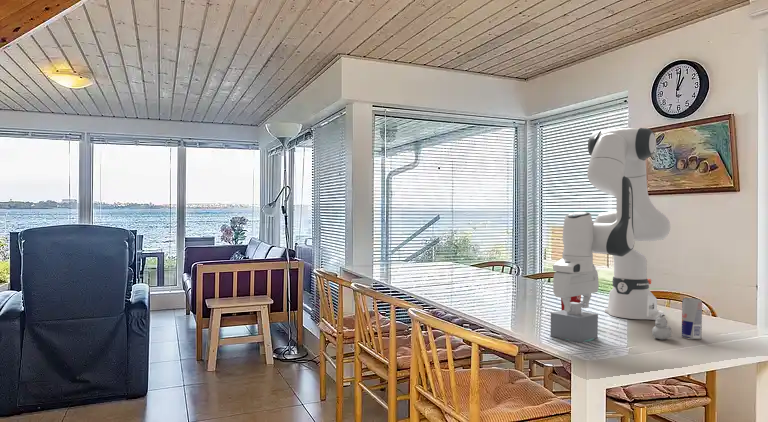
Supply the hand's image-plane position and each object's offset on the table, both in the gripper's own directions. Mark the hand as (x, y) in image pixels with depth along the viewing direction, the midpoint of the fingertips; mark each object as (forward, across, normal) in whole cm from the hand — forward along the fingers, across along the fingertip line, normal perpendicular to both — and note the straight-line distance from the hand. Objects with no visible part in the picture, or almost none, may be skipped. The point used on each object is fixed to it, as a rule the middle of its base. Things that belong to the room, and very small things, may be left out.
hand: (576, 309), depth 163 cm
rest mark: (+9, 0, 0) cm, 9 cm away
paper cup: (+9, -20, -14) cm, 26 cm away
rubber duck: (+9, -20, +17) cm, 28 cm away
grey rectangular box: (+9, 0, -1) cm, 9 cm away
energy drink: (+9, -29, +22) cm, 37 cm away
